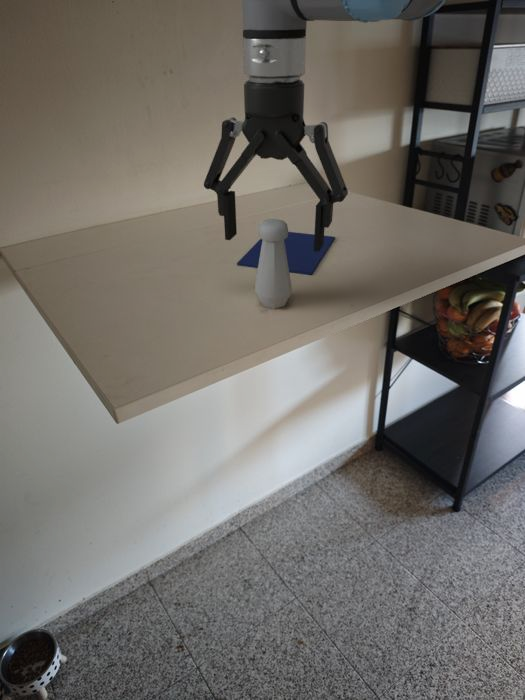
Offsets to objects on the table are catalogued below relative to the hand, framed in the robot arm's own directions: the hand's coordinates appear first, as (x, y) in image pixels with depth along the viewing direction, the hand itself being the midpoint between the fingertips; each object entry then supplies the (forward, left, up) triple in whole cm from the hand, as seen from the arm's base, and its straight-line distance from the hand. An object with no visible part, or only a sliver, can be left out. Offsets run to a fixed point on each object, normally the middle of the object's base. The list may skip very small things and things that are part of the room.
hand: (273, 242), depth 73 cm
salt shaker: (0, +1, -10) cm, 10 cm away
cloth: (+4, -20, -10) cm, 22 cm away
